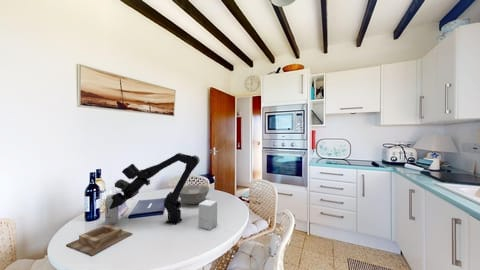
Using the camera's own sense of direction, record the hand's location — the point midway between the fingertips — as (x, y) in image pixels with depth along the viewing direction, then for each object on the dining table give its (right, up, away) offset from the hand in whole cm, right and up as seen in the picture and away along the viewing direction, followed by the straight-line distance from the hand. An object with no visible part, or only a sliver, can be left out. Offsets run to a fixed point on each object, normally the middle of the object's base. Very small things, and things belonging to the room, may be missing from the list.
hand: (115, 205), depth 105 cm
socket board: (+4, -10, -17) cm, 20 cm away
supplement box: (+51, -10, -3) cm, 52 cm away
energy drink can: (-2, -10, 0) cm, 10 cm away
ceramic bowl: (+35, -10, +31) cm, 48 cm away
